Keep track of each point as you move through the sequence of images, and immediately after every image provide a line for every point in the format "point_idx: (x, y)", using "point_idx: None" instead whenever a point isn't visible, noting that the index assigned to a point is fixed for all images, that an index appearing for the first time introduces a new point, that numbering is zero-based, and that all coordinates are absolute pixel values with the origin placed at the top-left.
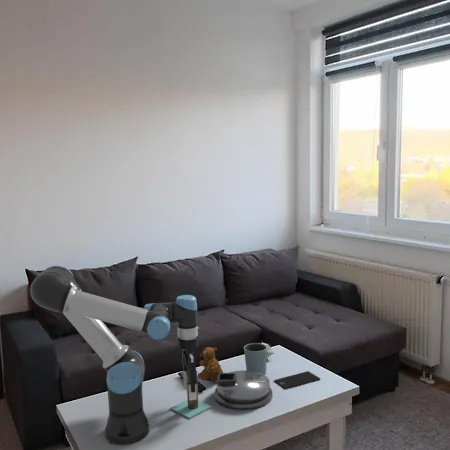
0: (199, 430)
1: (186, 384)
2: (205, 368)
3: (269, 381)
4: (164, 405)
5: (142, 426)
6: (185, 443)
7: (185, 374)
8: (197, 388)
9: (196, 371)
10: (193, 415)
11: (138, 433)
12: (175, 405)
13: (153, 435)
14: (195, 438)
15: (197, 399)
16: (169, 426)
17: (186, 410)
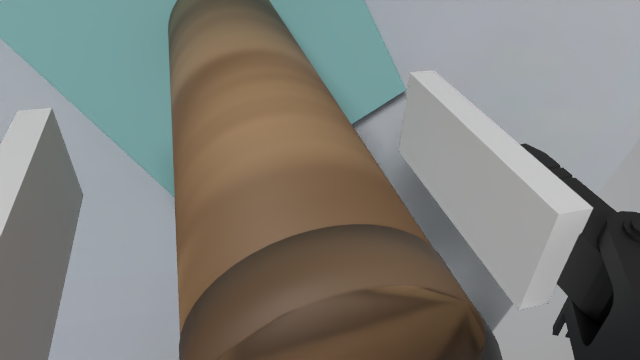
0: (574, 28)
1: (65, 202)
2: None
3: None
4: (125, 251)
5: (494, 358)
6: (631, 129)
7: (31, 356)
8: (295, 65)
9: (373, 299)
10: (388, 53)
11: (498, 348)
12: (168, 185)
13: (468, 272)
14: (631, 69)
15: (274, 16)
16: (426, 208)
17: None
